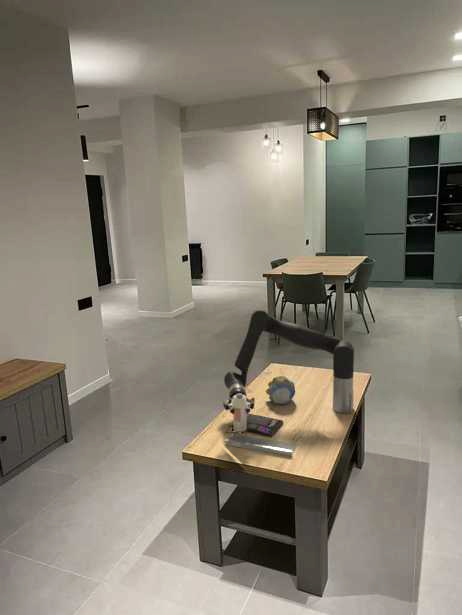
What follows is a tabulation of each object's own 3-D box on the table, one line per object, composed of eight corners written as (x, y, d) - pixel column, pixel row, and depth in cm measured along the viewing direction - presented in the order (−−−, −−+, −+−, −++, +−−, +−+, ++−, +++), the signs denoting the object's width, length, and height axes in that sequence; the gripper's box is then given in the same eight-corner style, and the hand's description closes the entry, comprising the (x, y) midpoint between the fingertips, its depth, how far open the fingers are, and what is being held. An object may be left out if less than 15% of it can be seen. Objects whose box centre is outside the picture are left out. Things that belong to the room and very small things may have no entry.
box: (231, 433, 205) (272, 441, 196) (230, 425, 204) (271, 433, 195) (244, 419, 217) (283, 426, 208) (244, 412, 216) (283, 419, 207)
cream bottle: (236, 424, 196) (235, 391, 192) (248, 426, 194) (248, 392, 190) (231, 430, 191) (230, 396, 187) (244, 432, 189) (243, 398, 185)
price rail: (292, 455, 181) (292, 450, 181) (291, 456, 180) (291, 452, 180) (226, 443, 192) (226, 439, 191) (225, 445, 190) (224, 440, 190)
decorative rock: (281, 378, 221) (297, 370, 233) (255, 381, 231) (272, 373, 243) (288, 406, 221) (304, 397, 233) (262, 408, 231) (278, 399, 243)
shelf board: (297, 447, 189) (297, 444, 189) (291, 459, 180) (291, 456, 180) (234, 436, 200) (234, 433, 199) (225, 447, 191) (225, 445, 190)
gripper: (221, 387, 203) (222, 404, 187) (253, 386, 204) (257, 402, 187) (221, 403, 205) (223, 421, 188) (253, 401, 205) (258, 419, 189)
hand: (240, 411), depth 188 cm, fingers closed on cream bottle, 5 cm apart
